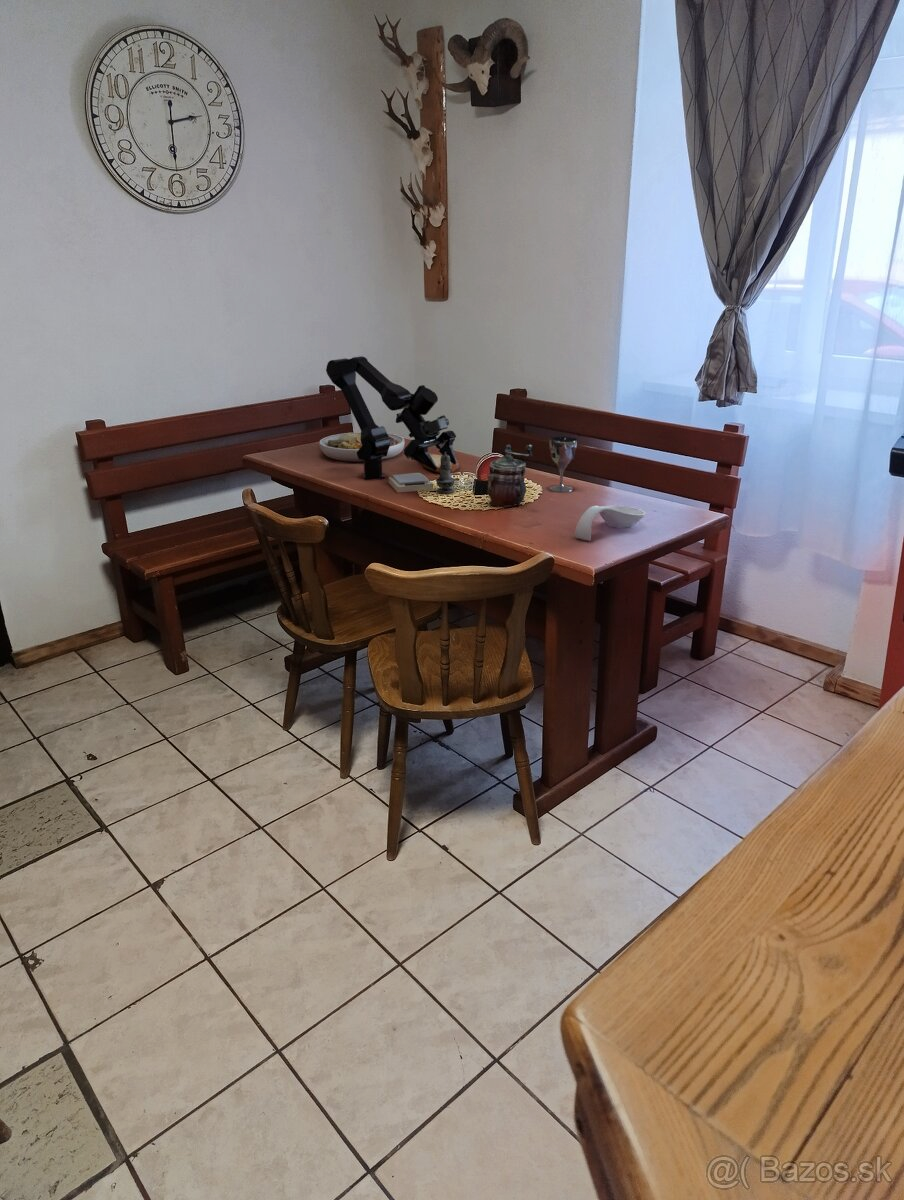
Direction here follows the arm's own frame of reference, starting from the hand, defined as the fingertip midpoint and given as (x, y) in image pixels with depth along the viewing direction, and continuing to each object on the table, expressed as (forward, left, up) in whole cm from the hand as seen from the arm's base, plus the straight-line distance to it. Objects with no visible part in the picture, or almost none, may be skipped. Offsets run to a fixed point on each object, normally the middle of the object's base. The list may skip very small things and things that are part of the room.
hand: (446, 466), depth 240 cm
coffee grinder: (+19, +14, -8) cm, 25 cm away
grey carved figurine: (0, 0, -8) cm, 8 cm away
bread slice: (-31, +6, -8) cm, 33 cm away
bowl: (-57, -14, -8) cm, 59 cm away
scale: (-9, -9, -8) cm, 15 cm away
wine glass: (+8, +34, -8) cm, 36 cm away
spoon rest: (+48, +29, -8) cm, 57 cm away
